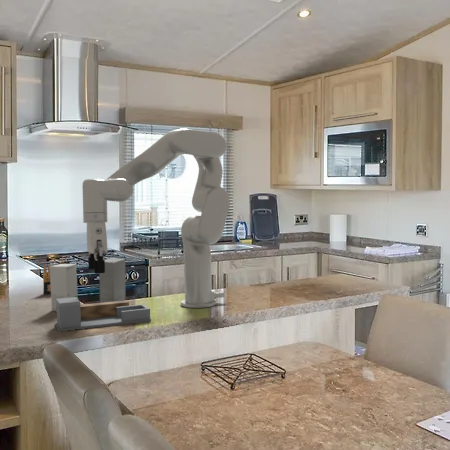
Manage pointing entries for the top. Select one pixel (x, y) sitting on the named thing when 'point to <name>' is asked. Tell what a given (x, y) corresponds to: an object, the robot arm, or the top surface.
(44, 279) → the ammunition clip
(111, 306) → the slat
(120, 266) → the skincare box
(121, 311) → the endcap board
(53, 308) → the skincare box
